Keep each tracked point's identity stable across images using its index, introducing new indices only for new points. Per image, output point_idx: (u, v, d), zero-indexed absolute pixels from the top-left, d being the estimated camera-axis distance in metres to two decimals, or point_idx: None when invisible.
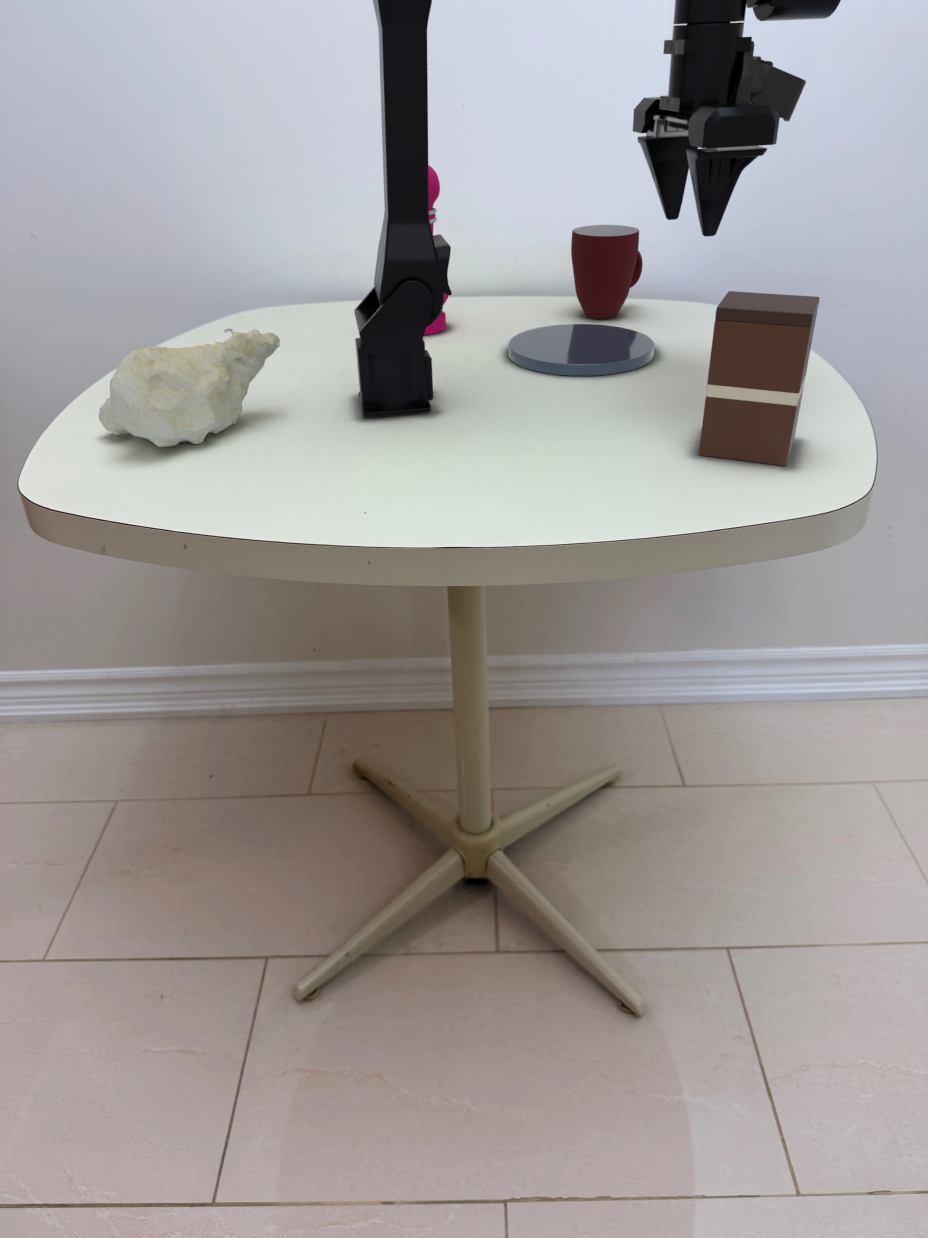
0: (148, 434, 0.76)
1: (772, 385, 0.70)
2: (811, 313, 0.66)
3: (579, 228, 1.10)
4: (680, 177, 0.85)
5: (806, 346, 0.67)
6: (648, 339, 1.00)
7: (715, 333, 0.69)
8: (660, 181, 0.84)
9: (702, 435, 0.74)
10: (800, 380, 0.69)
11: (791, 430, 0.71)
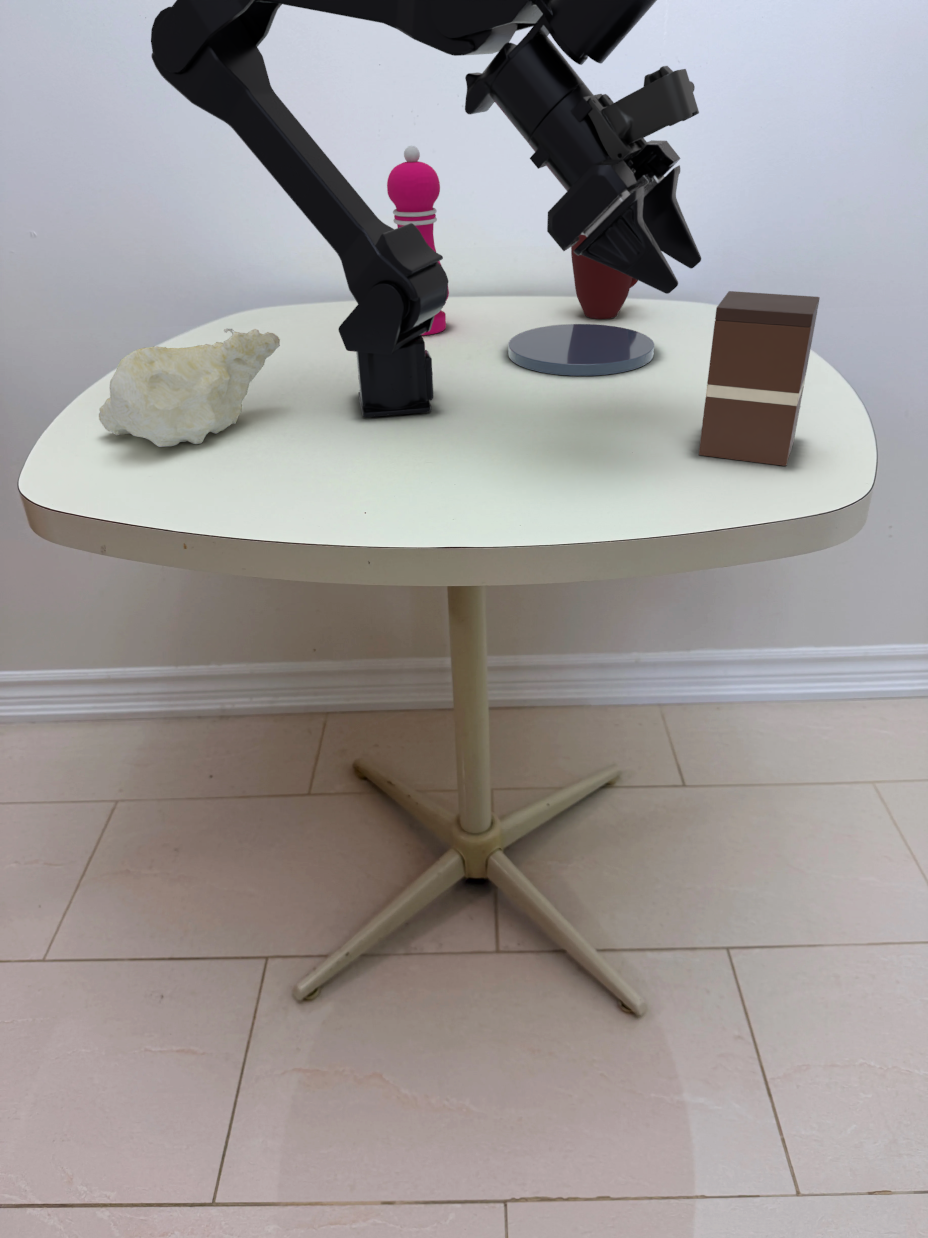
0: (148, 434, 0.76)
1: (772, 385, 0.70)
2: (811, 313, 0.66)
3: None
4: (674, 225, 0.73)
5: (806, 346, 0.67)
6: (648, 339, 1.00)
7: (715, 333, 0.69)
8: (657, 244, 0.75)
9: (702, 435, 0.74)
10: (800, 380, 0.69)
11: (791, 430, 0.71)
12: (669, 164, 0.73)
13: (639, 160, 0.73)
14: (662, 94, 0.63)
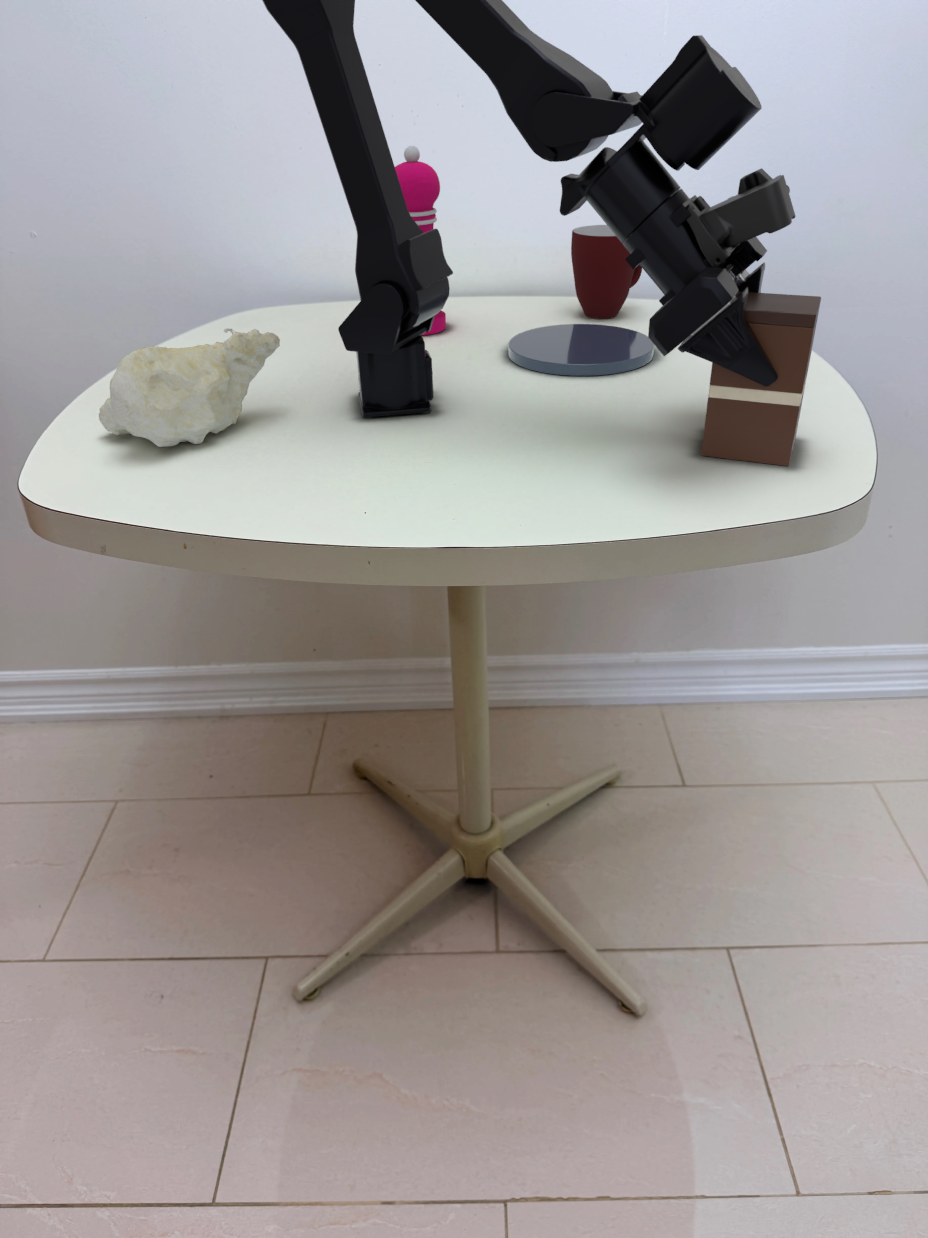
0: (148, 434, 0.76)
1: (775, 385, 0.69)
2: (814, 314, 0.66)
3: (579, 228, 1.10)
4: None
5: (809, 346, 0.67)
6: (648, 339, 1.00)
7: None
8: None
9: (704, 436, 0.74)
10: (803, 380, 0.69)
11: (794, 430, 0.71)
12: (758, 258, 0.73)
13: None
14: (763, 203, 0.64)
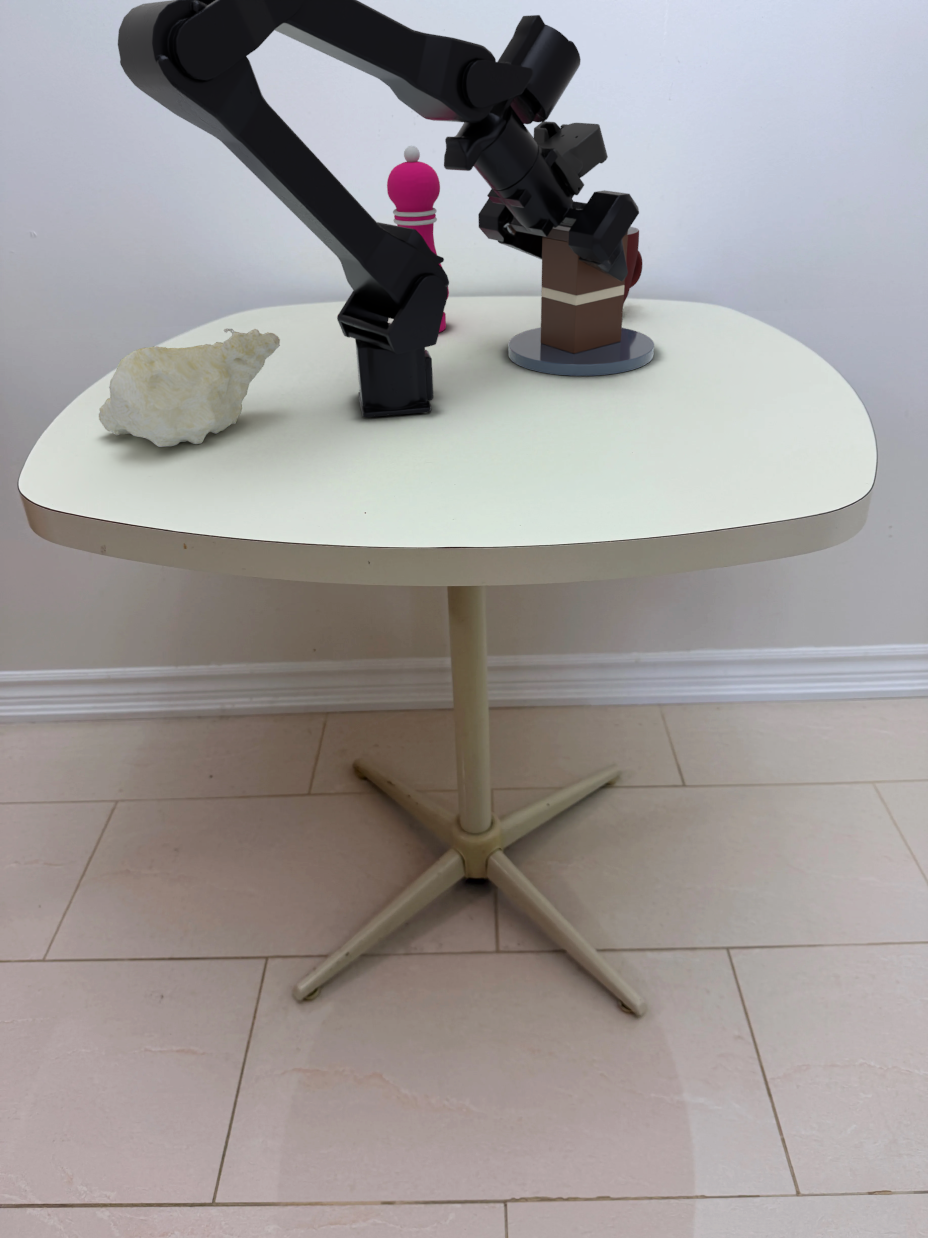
0: (148, 434, 0.76)
1: (611, 283, 0.95)
2: None
3: None
4: None
5: (626, 249, 0.94)
6: (648, 339, 1.00)
7: None
8: (541, 255, 0.97)
9: (575, 337, 0.95)
10: None
11: (622, 313, 0.97)
12: None
13: None
14: (597, 141, 0.86)
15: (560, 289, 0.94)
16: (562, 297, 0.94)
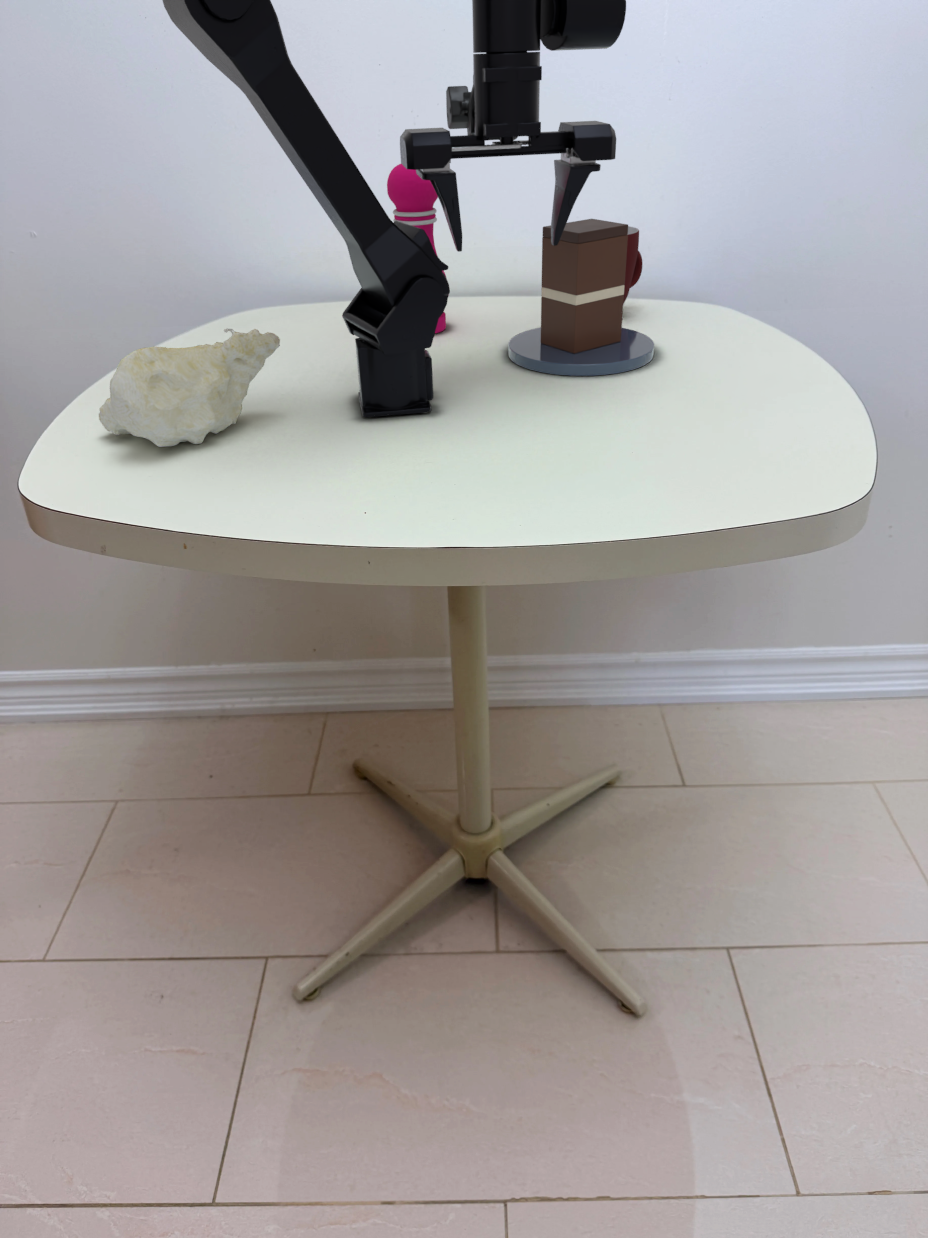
0: (148, 434, 0.76)
1: (611, 283, 0.95)
2: (627, 224, 0.93)
3: None
4: None
5: (626, 249, 0.94)
6: (648, 339, 1.00)
7: (579, 254, 0.90)
8: (459, 214, 0.81)
9: (575, 337, 0.95)
10: (624, 275, 0.95)
11: (622, 313, 0.97)
12: None
13: None
14: None
15: (560, 289, 0.94)
16: (562, 297, 0.94)
